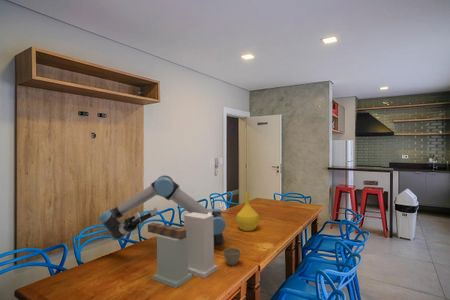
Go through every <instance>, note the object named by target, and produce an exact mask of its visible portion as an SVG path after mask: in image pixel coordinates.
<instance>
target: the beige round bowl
mask: <svg viewBox="0 0 450 300" xmlns="http://www.w3.org/2000/svg"><path fill="white" fill-rule="evenodd" d="M222 253H223V255H224V259H225V262H226V263H227V264H228V266H236V265H237V264H238V262H239V260H240V258H241V257H240V256H241V254H242V251H241V249H239V248H236V247H228V248H226V249H224V250H223V252H222Z"/></svg>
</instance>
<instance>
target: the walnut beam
mask: <svg viewBox="0 0 450 300" xmlns="http://www.w3.org/2000/svg"><path fill="white" fill-rule="evenodd" d="M147 233H151V234H155V235H163V236H167V237H172V238H176V239H180V240H181V239H184V238H186V229H184V228H181V227H177V226H171V225H168V224H167V225H166V224H162V223H159V222H158V223H157V222H151V223H148V224H147Z"/></svg>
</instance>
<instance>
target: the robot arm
mask: <svg viewBox="0 0 450 300" xmlns="http://www.w3.org/2000/svg"><path fill="white" fill-rule="evenodd" d="M156 196H158V197H163V198H164V199H165V200H167V201H173V202H174V203H175V204H177V205H178V206H179V207H180V208H182V209H183V210H184V211H186V212H188V214H190V213H193V212H195V213H202V214H208V215H213V229H214V246H219V245H221V244H223V243H224V242H225V237H224V235H223V232H224V231H225V229H226V227H227V226H226V221H225V219H224V217H223V216H222V210H221V209H220V208H209V209H207V207H205V206H204V205H202V204H201V203H199V202H198V201H197V200H196V199H194V198H193V197H192V196H190V195H189V194H187V193H186V192H185V191H183V190H182V189H181V188H180V185H179V184H178V183H177V182H176V181H174V180H173V178H172V177H171V176H169V175H166V174H165V175H161V176H159V177H158V178H157V179H156V180H154V181H153V182H152V183H150V186H148V187H146V188H145V189H143V190H142V191H140V192H138V193H137V194H134V196H131V197H130V198H128V199H127V200H125V201H123V202H122V203H121V204H118V205H117V206H116V207H114V208H112V209H110V210H109V209H106V210H105V211H104V212H103V213H101V214H100V215H99V216H98V220H99V222H100V223H101V224H103V226H104V227H105V228H106V229H107V230H108V231H109V235H110V239H112V240H113V241H119V240H121V239H123V238H124V237H126V236H128V235H129V234H130V233H131V232H133V231H135V230H136V228H137V226H138V225H139V224H140V223H144V222H145V221H147V220H149V219H150V218H152V217H154V216H155V215H156V214H157V213H158V212H159V208H158V206H156V207H155V208H153V209H152V210H150V211H149V212H148V213H145V214H143V215H140V213H139V211H137V212H135V213H134V214H133V215H131V216H130V217H128V218H125V219H124V221H122V222H121V221H120V219H121V218H122V217H123V216H125V215H127V214H128V213H130V212H131V211H133V210H135V209H137V208H138V207H140V206H141V205H143V204H144V203H146V202H147V201H149V200H151V199H152V198H154V197H156Z"/></svg>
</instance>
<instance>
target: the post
mask: <svg viewBox="0 0 450 300" xmlns="http://www.w3.org/2000/svg"><path fill="white" fill-rule="evenodd" d="M156 263H157V264H156V266H157V267H156V273H155V274H153V275H152V280H154V281H156V282H159V283H162V284H163V285H166V286H170V287H172V288H175V289H177V288H179V287H181V286H182V285H184V284H185V283H186V282H188V281H189V280H191V279H193V274H191V273H188V236H186V238H184V239H181V240H180V239H176V238H172V237H167V236H163V235H159V234H156Z"/></svg>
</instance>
